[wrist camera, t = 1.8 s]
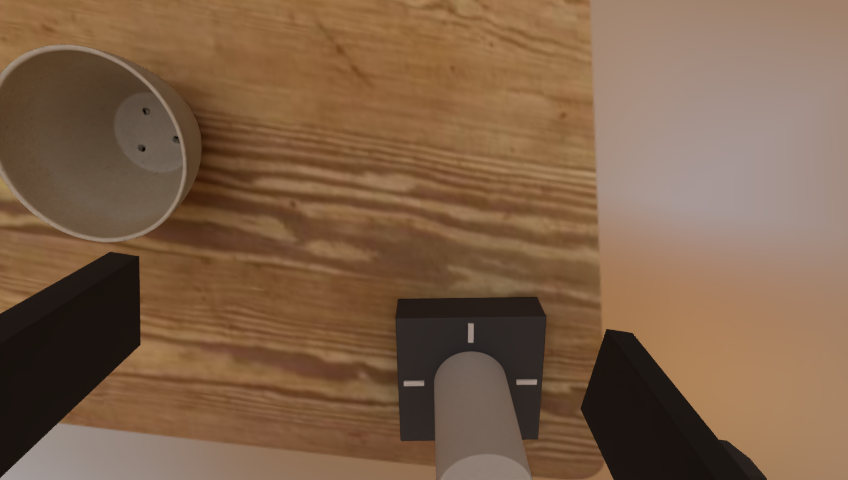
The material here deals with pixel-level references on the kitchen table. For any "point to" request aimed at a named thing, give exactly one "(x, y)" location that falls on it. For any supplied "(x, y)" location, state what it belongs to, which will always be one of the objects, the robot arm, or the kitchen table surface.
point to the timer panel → (462, 332)
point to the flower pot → (95, 142)
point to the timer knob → (476, 422)
